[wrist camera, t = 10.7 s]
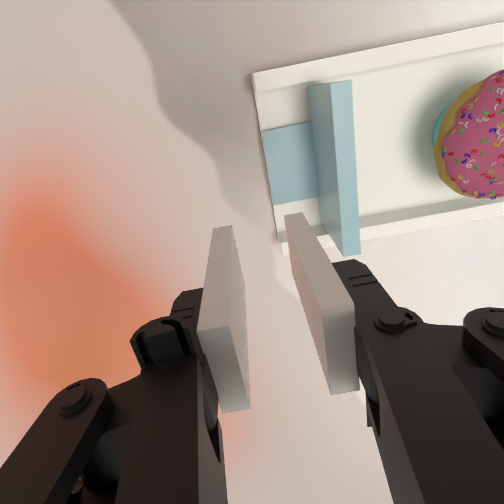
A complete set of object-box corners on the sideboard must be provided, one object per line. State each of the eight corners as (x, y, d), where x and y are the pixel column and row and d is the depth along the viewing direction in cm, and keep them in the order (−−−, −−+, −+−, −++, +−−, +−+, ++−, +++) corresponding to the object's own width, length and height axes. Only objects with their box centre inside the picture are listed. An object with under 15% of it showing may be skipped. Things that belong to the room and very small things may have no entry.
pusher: (255, 96, 26) (262, 97, 19) (322, 83, 26) (351, 79, 19) (277, 230, 30) (288, 266, 24) (333, 219, 30) (360, 253, 24)
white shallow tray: (251, 75, 26) (253, 73, 23) (585, 6, 25) (630, -5, 22) (278, 241, 32) (282, 255, 29) (549, 190, 31) (582, 200, 28)
